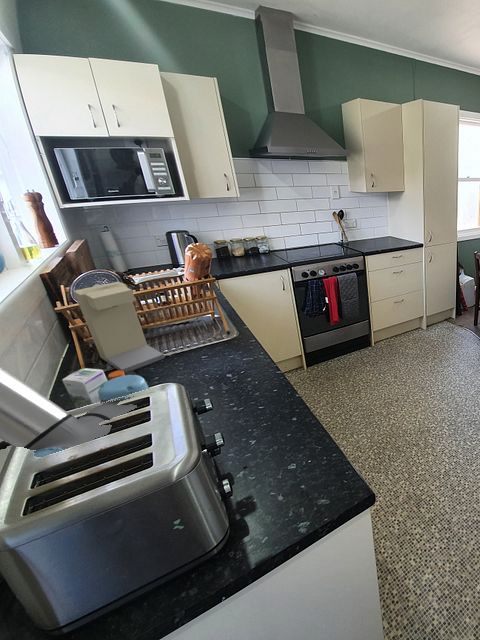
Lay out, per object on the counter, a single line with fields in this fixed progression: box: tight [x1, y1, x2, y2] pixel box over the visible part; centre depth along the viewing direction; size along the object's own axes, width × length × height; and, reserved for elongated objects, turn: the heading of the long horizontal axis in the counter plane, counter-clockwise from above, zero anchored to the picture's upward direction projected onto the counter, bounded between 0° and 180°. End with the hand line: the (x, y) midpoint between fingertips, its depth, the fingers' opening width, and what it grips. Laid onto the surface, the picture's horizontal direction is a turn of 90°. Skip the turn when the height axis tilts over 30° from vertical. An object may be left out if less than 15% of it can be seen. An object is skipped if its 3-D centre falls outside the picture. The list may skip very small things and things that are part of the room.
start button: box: [107, 370, 125, 380], centre depth 106 cm, size 4×4×2 cm
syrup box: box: [61, 367, 107, 409], centre depth 90 cm, size 6×6×14 cm
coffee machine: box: [72, 281, 165, 372], centre depth 116 cm, size 12×18×25 cm, turn 58°
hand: (89, 392), depth 91 cm, fingers open, 13 cm apart
